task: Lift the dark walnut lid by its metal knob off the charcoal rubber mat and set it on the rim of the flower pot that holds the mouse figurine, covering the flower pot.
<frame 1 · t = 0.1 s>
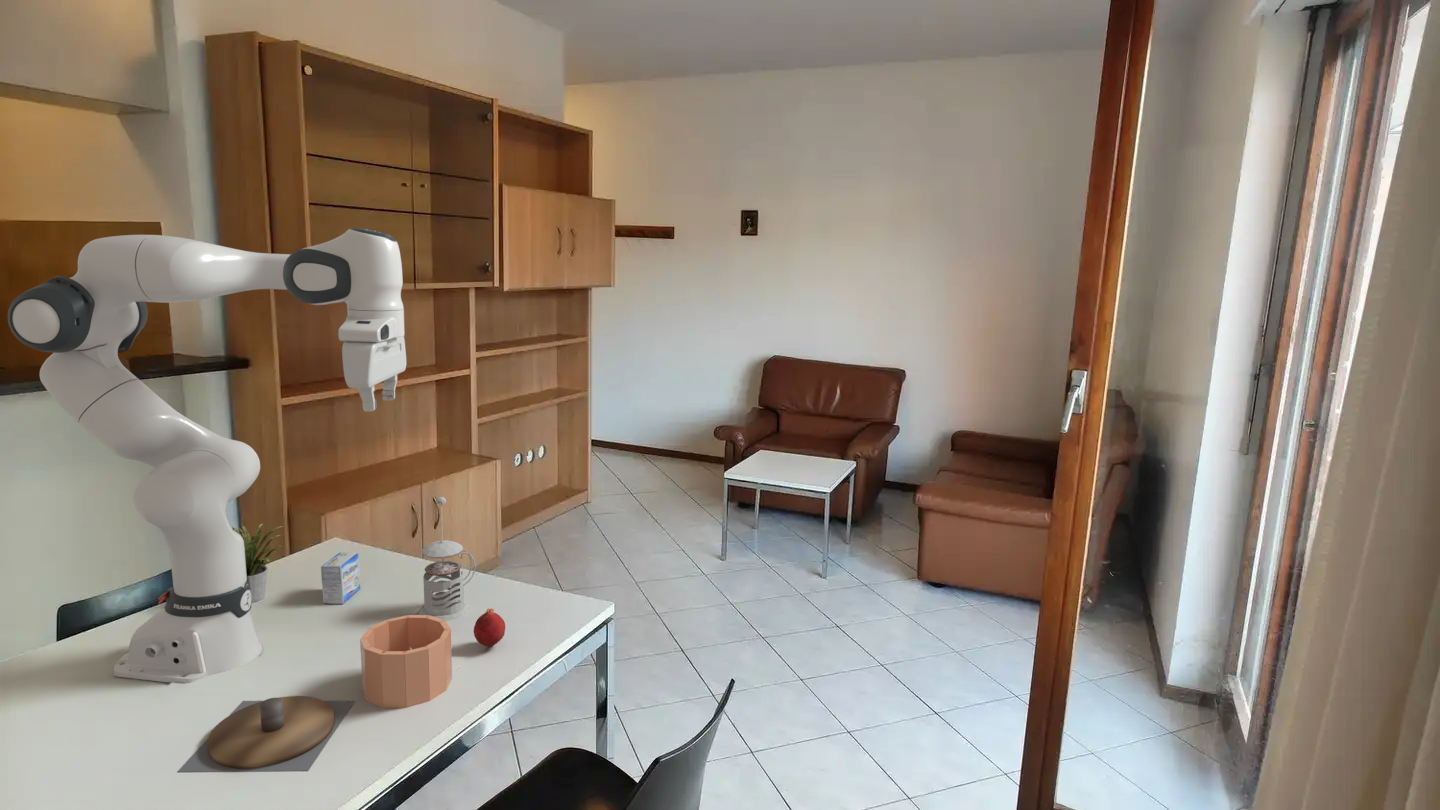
hand: (379, 405, 136), 48 cm above the table, fingers open, 8 cm apart
lid: (273, 733, 121), resting on mat
french press: (448, 610, 166), on the table
medicine box: (342, 597, 170), on the table
mouse figurine: (406, 689, 136), resting in flower pot
mat: (273, 736, 121), on the table
red pomegranate: (489, 648, 151), on the table
flower pot: (408, 686, 136), on the table
house plant: (257, 598, 167), on the table
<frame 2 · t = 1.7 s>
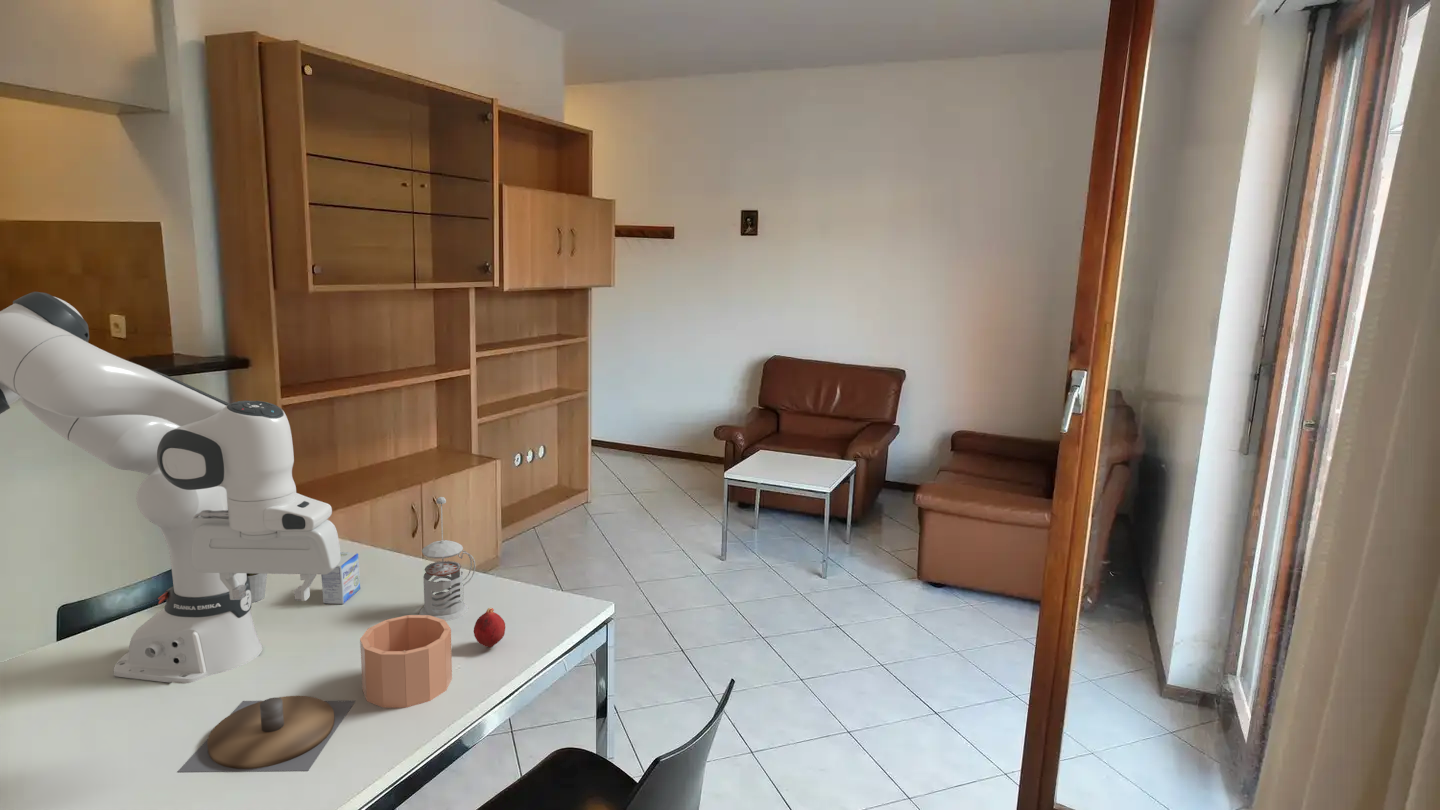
hand: (270, 598, 118), 22 cm above the table, fingers open, 8 cm apart
mouse figurine: (400, 692, 135), resting in flower pot
everything else where it was.
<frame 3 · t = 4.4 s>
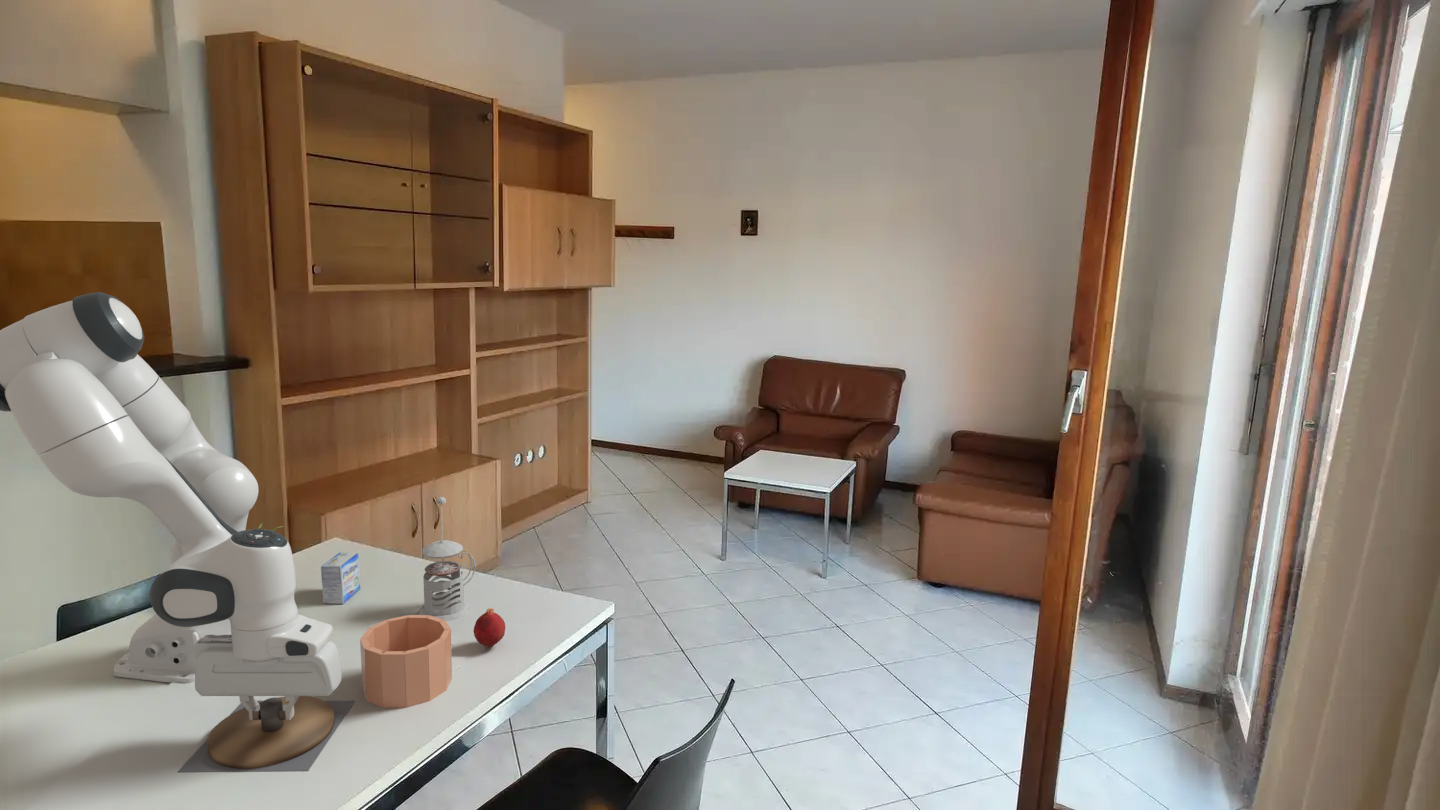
hand: (272, 718, 121), 3 cm above the table, fingers closed on lid, 3 cm apart
lid: (273, 733, 121), resting on mat, touching gripper
everything else where it was.
when the fingers open (14 cm above the table, at t = 9.5 s): lid stays where it is, resting on flower pot.
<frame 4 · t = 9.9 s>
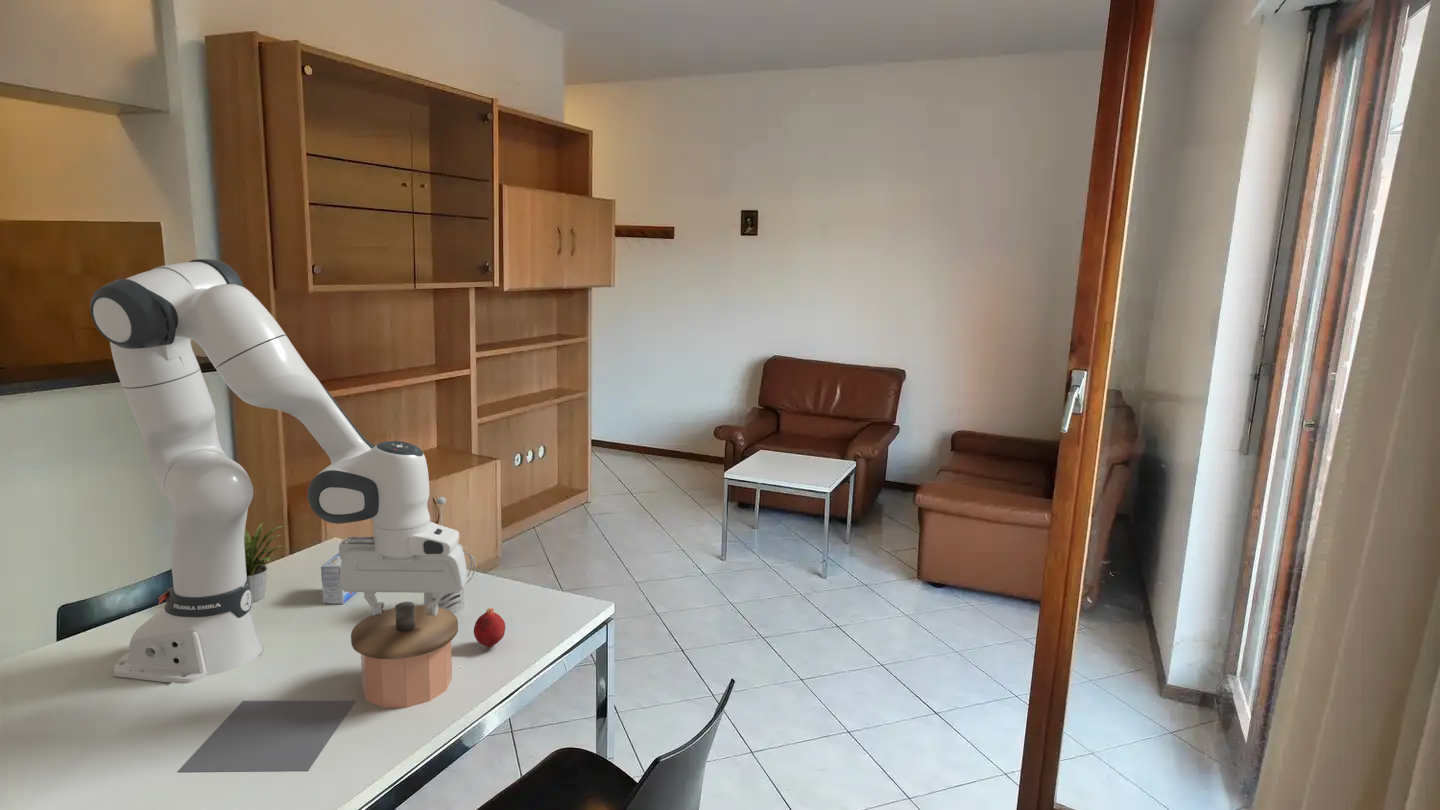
hand: (405, 614, 134), 14 cm above the table, fingers open, 8 cm apart
lid: (405, 633, 134), point 10 cm above the table, touching flower pot
everything else where it was.
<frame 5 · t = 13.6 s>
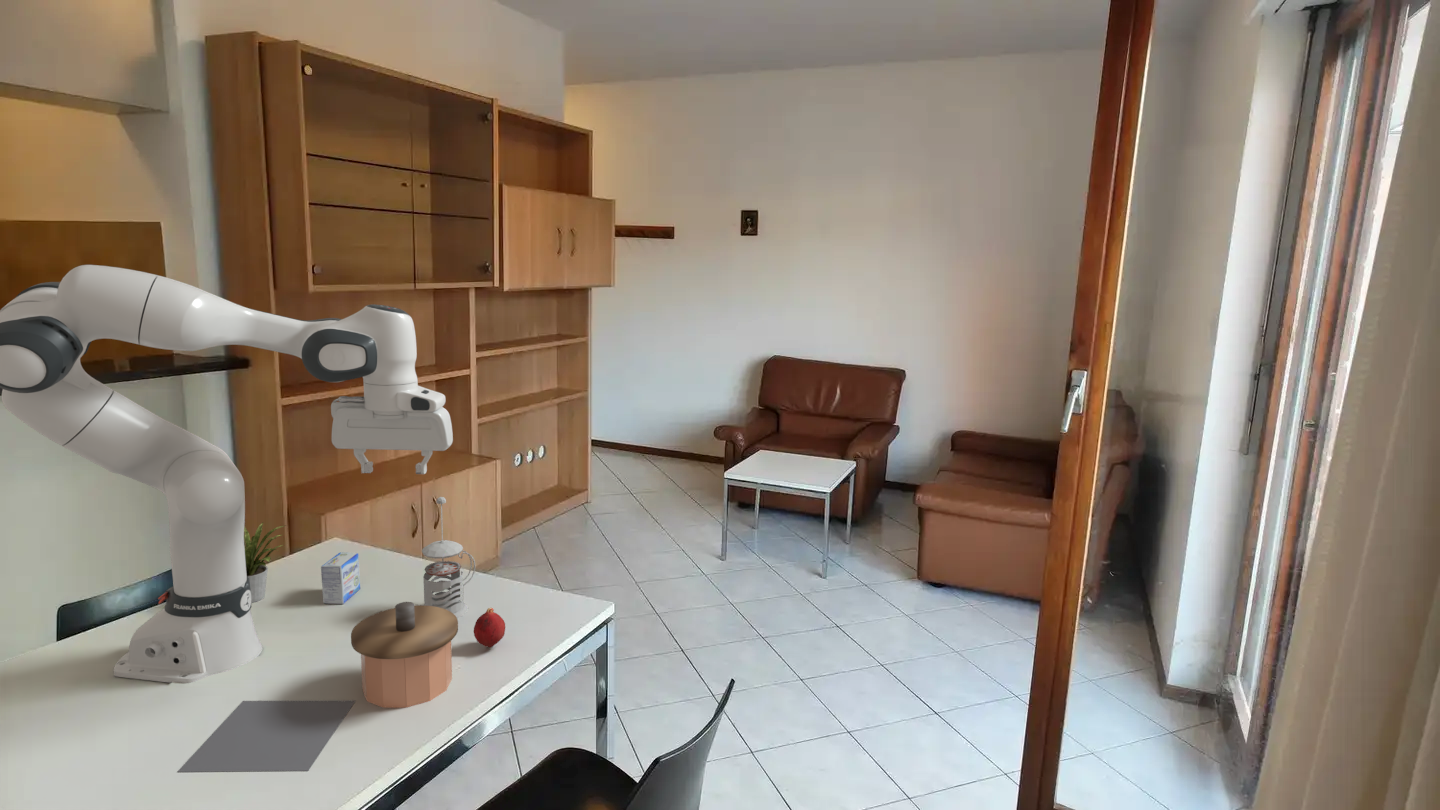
hand: (394, 472, 141), 35 cm above the table, fingers open, 8 cm apart
nothing on the table moved.
at the end: lid 0.1 cm off-centre on the flower pot, point 10.0 cm above the flower pot's base; lid tilted 0°; the gripper is holding nothing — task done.
